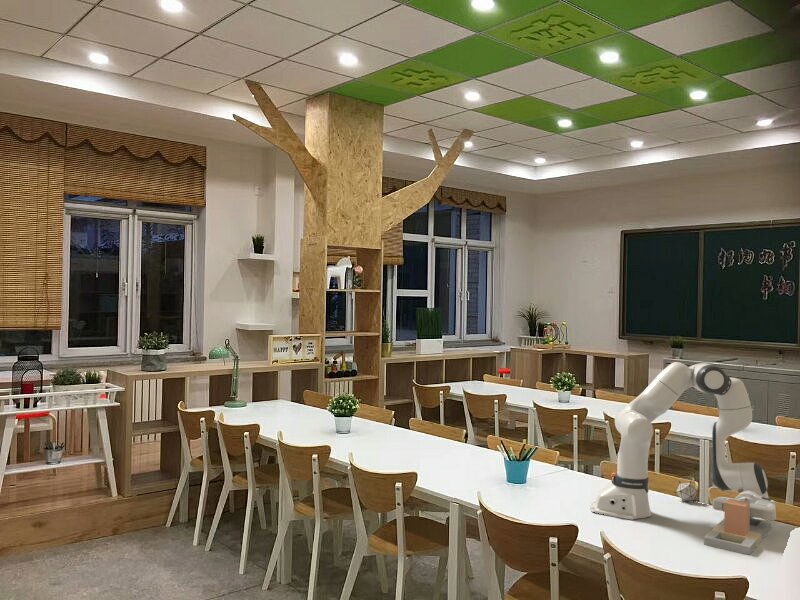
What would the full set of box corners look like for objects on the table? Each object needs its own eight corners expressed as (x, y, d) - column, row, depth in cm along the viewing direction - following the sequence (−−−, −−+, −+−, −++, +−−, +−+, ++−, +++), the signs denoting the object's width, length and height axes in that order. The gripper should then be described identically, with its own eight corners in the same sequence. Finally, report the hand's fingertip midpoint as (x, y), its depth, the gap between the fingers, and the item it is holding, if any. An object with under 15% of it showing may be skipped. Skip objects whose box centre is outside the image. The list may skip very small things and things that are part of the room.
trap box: (729, 520, 253) (729, 513, 253) (771, 528, 244) (771, 521, 244) (703, 544, 226) (703, 537, 226) (749, 555, 218) (749, 547, 218)
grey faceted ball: (687, 509, 278) (696, 488, 281) (696, 507, 270) (706, 485, 273) (667, 497, 280) (677, 476, 283) (676, 495, 272) (685, 473, 275)
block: (728, 527, 237) (729, 498, 237) (749, 531, 233) (749, 502, 233) (724, 531, 232) (724, 502, 232) (744, 536, 228) (745, 506, 228)
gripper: (717, 490, 252) (707, 498, 242) (779, 501, 240) (771, 510, 229) (717, 507, 252) (707, 515, 242) (779, 519, 240) (771, 529, 229)
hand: (739, 513), depth 235 cm, fingers closed, pressing on block
